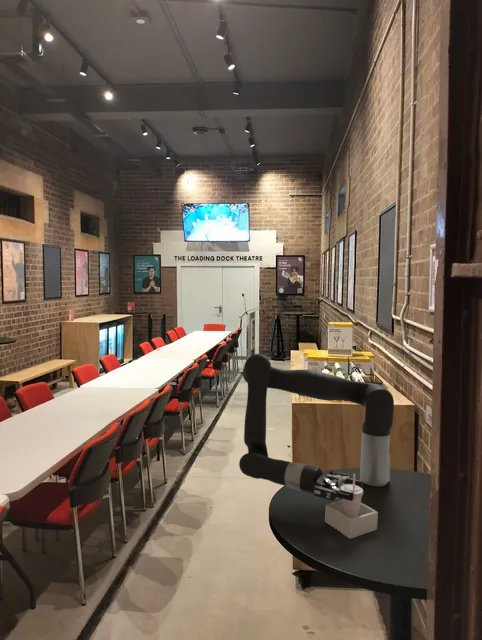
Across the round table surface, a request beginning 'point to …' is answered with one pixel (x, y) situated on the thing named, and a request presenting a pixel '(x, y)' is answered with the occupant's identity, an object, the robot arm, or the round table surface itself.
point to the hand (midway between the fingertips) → (357, 490)
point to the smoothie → (352, 506)
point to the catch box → (351, 520)
